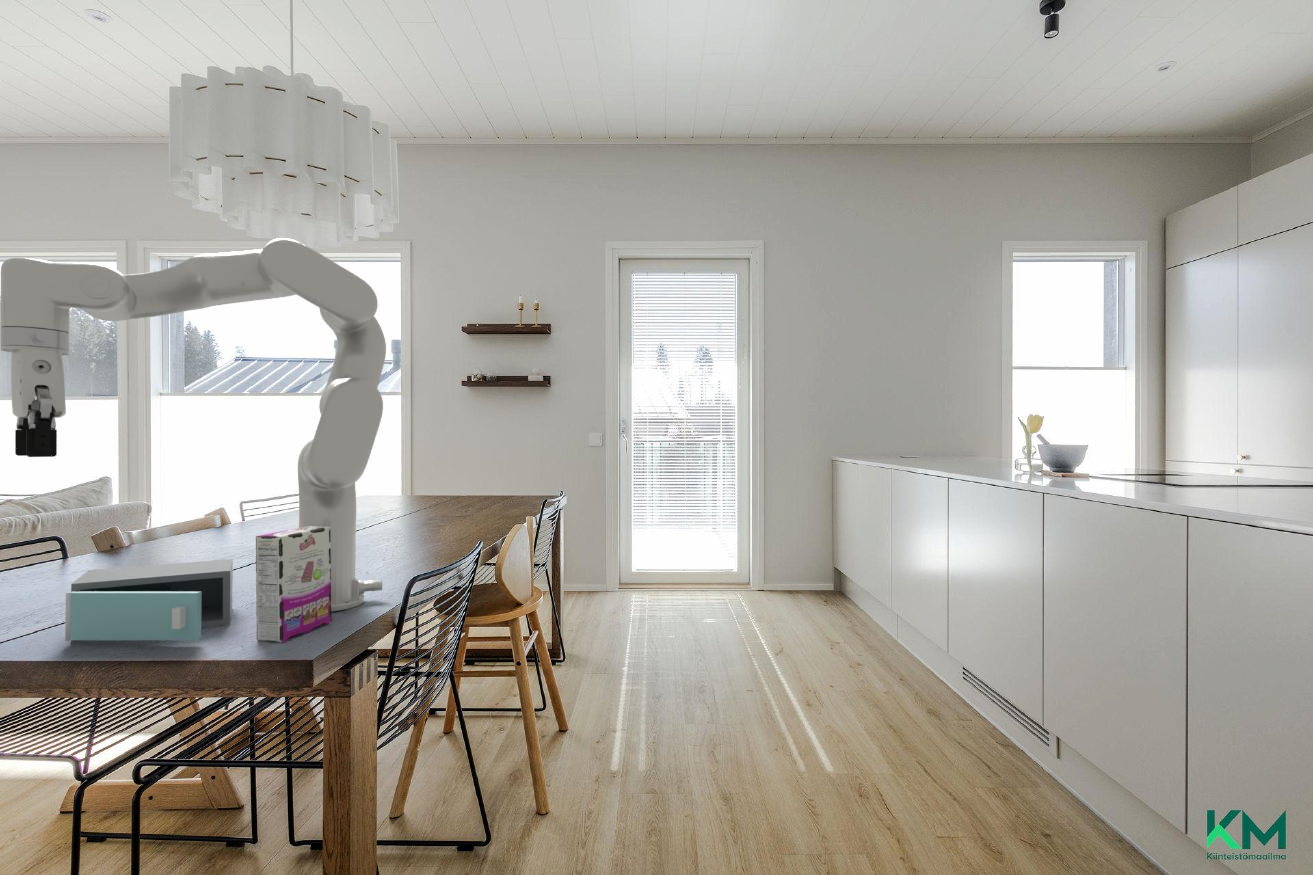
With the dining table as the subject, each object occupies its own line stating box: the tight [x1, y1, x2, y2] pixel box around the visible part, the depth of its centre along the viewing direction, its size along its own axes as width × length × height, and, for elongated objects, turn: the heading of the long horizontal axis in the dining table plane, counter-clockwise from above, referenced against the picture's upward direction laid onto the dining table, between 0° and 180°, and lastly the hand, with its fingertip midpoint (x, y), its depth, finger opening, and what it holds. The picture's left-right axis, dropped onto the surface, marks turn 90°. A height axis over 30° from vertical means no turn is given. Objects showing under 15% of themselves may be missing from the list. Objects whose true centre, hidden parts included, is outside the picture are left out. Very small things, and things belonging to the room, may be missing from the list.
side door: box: [64, 591, 202, 641], centre depth 96 cm, size 19×2×7 cm, turn 92°
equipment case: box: [70, 558, 234, 645], centre depth 108 cm, size 20×12×9 cm, turn 122°
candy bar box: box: [255, 526, 332, 644], centre depth 104 cm, size 11×5×16 cm, turn 168°
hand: (35, 456), depth 98 cm, fingers open, 9 cm apart
